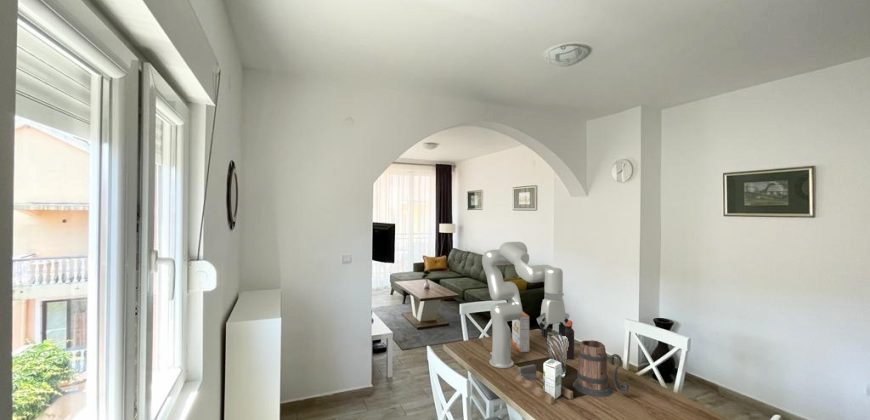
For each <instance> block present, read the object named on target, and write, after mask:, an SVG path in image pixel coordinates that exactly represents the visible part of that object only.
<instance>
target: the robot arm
mask: <svg viewBox="0 0 870 420" xmlns="http://www.w3.org/2000/svg"><path fill="white" fill-rule="evenodd" d="M529 262H530V255H529V253H528V248H527V245H526V244H525V243H524V242H522V241H509V242H504V243H502V244H501V245H500V246H499V249H490V250H489V249H488V250H487V251H485V252H484V253H483V254H482V258H481V263H482V268H483V270H484V273H485V276H486V280H487V285H488V291H489V296H490V299H491V300H492V301H495V302H498V301H507V302H499V303H495V304H493V305H492V306H491V307H490V309H489V310H490V319H491V326H492V327H491V329H492V336H491V337H492V341H491V342H492V345H491V346H492V349H491V350H492V351H490V353H489V354H490V355H491V358H490V359H489V361H488V362H489V364H490V366H492V367H495V368H498V369H509V368H512V367H513V366H514V363H515V362H514V360H512V358H511V356H512V355H511V354H512V353H511V351H512V349H511V347H512V346H511V345H512V344H511V343H512V342H511V339H512V338H511V336H512V335H511V334H512V332H511V328H510V326H509V324H508V322H510V321H511V322H512V320H517V319H520V318H521V317H522V313H523V312H524V311H523V305H522V302H521V297H520V292H519V291H520V290H519V289H518V286H517V284H516V283H515V282H513V281H504V278H503V273H502V271H501V270H500V268H498V267H497V266H505V265H514V270H515V272H516V274H517V275H518V276H519V277H520V279H523V281H525V282H527V283H530V284H533V283H541V282H542V283H544V293H543V294H544V299H542V302H541V306H540V307H541V308H540V309H541V310H540V315H539V316H538V317H536V322H537V324H538V325H539V327H540V328H541V329H540V330H541V332H540V334H541V337H542V338H544V339H548V333H549V331H548V327H549V325H553V324H558V334H560V335H561V334H562V335H565V326H566V323H567V322H568V320H569V318H570V313H567V312H566V308H565V301H564V299H563V298H564V296H565V294H564V292H563V289H564V287H563V286H564V285H563V284H564V283H563V281H564V272H563V270H562V268H559V267H553V266H551V265H549V264H538V265H537V264H534V265H529Z"/></svg>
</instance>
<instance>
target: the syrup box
mask: <svg viewBox="0 0 870 420" xmlns="http://www.w3.org/2000/svg"><path fill="white" fill-rule="evenodd" d="M542 366H543V367H542V368H543V372H542V374H543V382H542V389H543V390H544V391H546V392H547V393H549V394H550V395H552V396H553V397H554V400H557V399H558V398H559V397H560V396H562V394H561V385H562V368H563V367H562V362H560V361H558V360H557V359H553V358H550V359H548V360H546V361H543V365H542Z"/></svg>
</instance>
